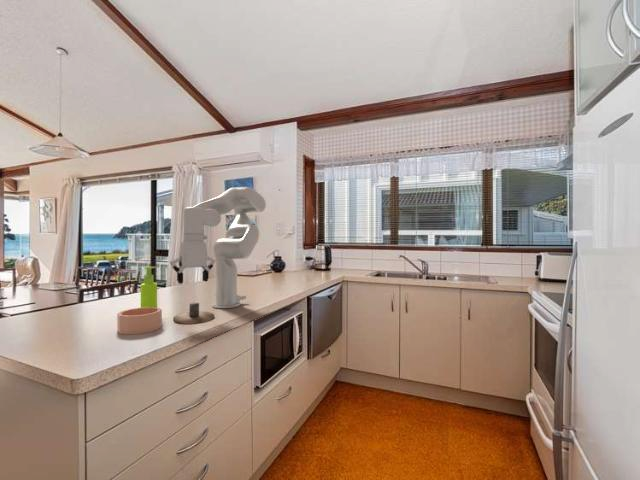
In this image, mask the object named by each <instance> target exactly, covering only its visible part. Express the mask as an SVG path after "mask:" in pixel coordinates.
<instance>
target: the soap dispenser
mask: <svg viewBox="0 0 640 480" xmlns="http://www.w3.org/2000/svg"><path fill="white" fill-rule="evenodd" d="M157 267H158V266H145V267H144V270H146V274H144V276H143V277H144V278H143V283H140V308H144V307H155V308H158V283H157V282H154V278H155V277H154V274H152V269H157Z"/></svg>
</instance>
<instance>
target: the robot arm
mask: <svg viewBox="0 0 640 480" xmlns="http://www.w3.org/2000/svg"><path fill="white" fill-rule="evenodd" d="M266 207H267V205H266V199H265V198H264V196H263V195H261V194H260V193H259V192H258V191H257V190H255V189H254V188H252V187H250V186H238V187H237V186H236V187H231V188H228V189H227V190H225V191H224V192H223V193H222V194H220V195H218V196H217V197H213V198H211V199H208V200H205V201H202V202H199V203H198V204H196V205H194V206H188V207H185V208H184V209H183V237H182V239H183V241H181V242H180V245H179V251H178V256H177V257H176V258H174V259H172V260H171V261H169V264H170V266H171V269H173V270H174V271H175V273H176V274H177V275H176V281H177V283H178V284H183V283H184V273H183V271H184V270H185V269H186V268H187V269H188V268H189V269H190V268H191V269H192V268H202V270H203V271H202V281H203V282H208V281H209V276H210V275H209V272H210V271H211V269H212V268H213V267H214V265H215V301H214V302H213V303H212V304H211V306H212V308H213V309H232V308H233V309H234V308H236V307H239V306H241V301H242V300H243V301H244V300H247V295H246V294H245V295H239V294H238V267H237V264H236V262H235V260H245V259H248V258H249V257H250V256H251V254H252V253H253V251H254V249H255V247H256V245H257V243H258V241H259V237H260V231H259V228H258V226H257V225H256V224H252V222H251V219H250V217H249V216H248V215H247V213H250V214H252V213H262V212H265V209H266ZM231 211H233V212H234V219H233V221H232V222H231V224H230V226H229V227H228V229H227V231H226V233H225V238H219V239H217V240H216V241H215V242H214V244H213V249H212V250H213V254H214V259H213V258H212V257H209V256H208V248H207V244H206V242H205V240H208V236H207V235H205V228H213V227H217V226H219V224H220V223H221V222H222V216H223V215H226V214H229V213H230V212H231ZM208 262H209V263H208ZM176 263H178V266H177V265H176Z"/></svg>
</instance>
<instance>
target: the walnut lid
mask: <svg viewBox="0 0 640 480" xmlns="http://www.w3.org/2000/svg"><path fill="white" fill-rule="evenodd" d="M214 319H215V314H214V313H213V312H210V311H200V303H199V302H191V303H189V310H188V312H182V313H178V314H176V315H175V316H173V320H172V321H174V322H173V323H175V324H178V325H192V324H193V325H194V324H195V325H196V324H202V323H206V322H209V321H213V320H214Z"/></svg>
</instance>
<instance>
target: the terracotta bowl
mask: <svg viewBox="0 0 640 480" xmlns="http://www.w3.org/2000/svg"><path fill="white" fill-rule="evenodd" d="M162 314H163V312H162V308H159V307H157V308H155V307H144V308H141V307H135V308H131V309H126V310H125V309H124V310H121V311H120V312H118V313H117V314H116V315H117V316H116V318H117V319H116V320H117V321H116V322H117V328H116V329H117V333H119V334H120V335H141V334H146V333H150V332H154V331H156V330H159V329H160V328H161V327H162V326H163V324H162V323H163V319H162V317H163V316H162Z"/></svg>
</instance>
